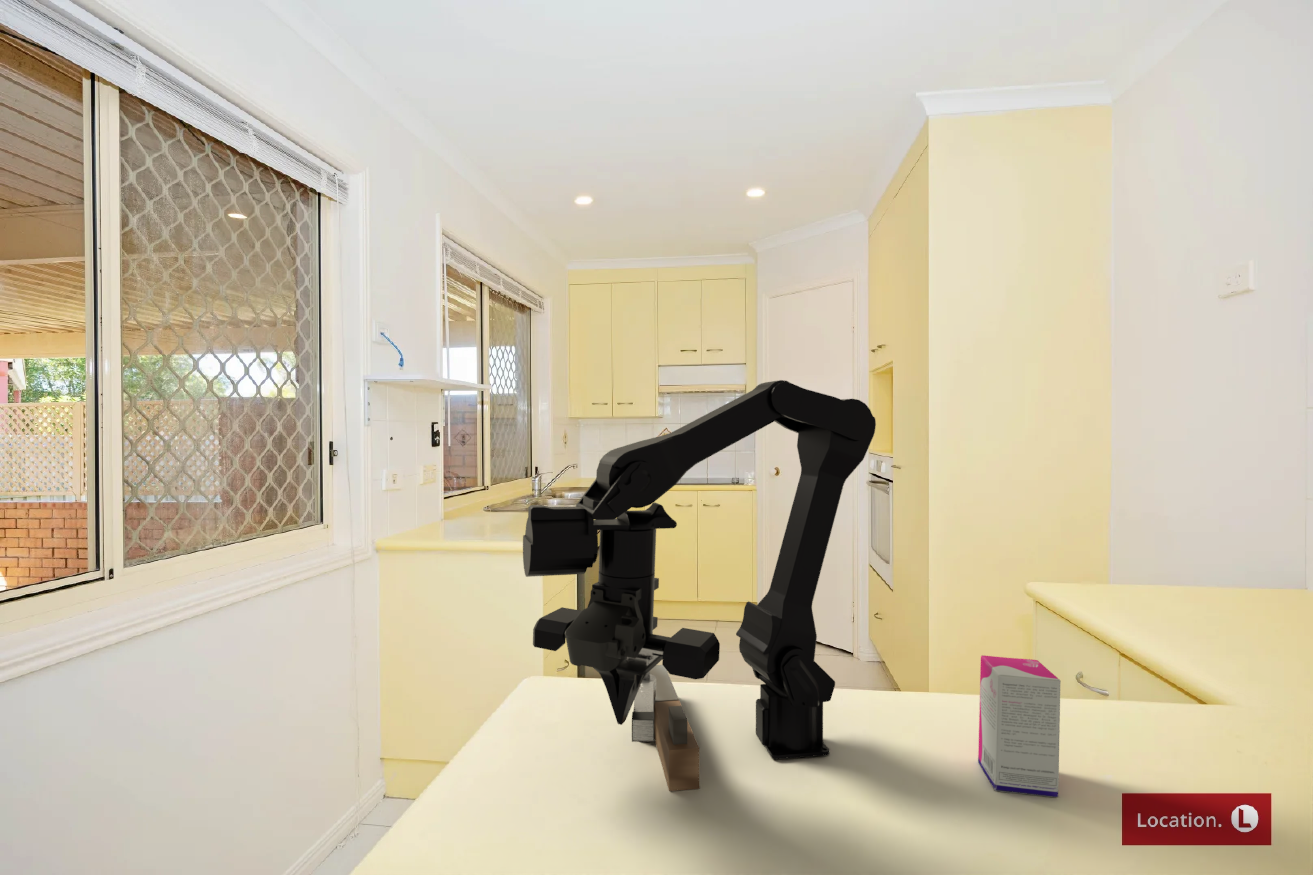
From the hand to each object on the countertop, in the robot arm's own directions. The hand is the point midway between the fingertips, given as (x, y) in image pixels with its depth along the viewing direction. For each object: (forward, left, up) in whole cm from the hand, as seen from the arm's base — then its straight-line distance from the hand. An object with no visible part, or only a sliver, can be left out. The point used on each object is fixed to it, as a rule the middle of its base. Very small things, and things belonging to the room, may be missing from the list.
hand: (621, 722), depth 64 cm
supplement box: (-39, +7, -6) cm, 40 cm away
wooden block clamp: (-5, -7, -5) cm, 10 cm away
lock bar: (-3, -3, -1) cm, 4 cm away
